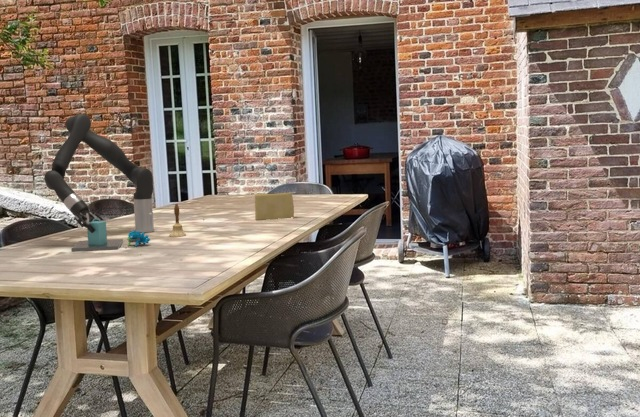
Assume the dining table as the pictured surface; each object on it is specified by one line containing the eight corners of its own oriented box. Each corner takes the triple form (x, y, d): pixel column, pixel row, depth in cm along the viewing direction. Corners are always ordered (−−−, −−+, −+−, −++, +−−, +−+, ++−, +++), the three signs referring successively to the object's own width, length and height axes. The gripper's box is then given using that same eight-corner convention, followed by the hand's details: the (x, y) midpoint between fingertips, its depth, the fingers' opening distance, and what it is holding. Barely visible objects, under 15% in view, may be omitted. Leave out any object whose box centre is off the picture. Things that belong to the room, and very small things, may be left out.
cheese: (293, 217, 411) (293, 191, 409) (294, 219, 402) (293, 193, 400) (255, 218, 410) (255, 192, 408) (255, 220, 400) (254, 194, 399)
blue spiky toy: (154, 240, 327) (142, 228, 320) (150, 251, 323) (138, 238, 317) (135, 243, 332) (123, 230, 325) (131, 253, 328) (118, 240, 321)
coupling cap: (95, 242, 328) (94, 221, 326) (107, 242, 326) (105, 221, 325) (88, 244, 322) (86, 222, 321) (99, 244, 320) (98, 223, 319)
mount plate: (123, 242, 335) (122, 223, 334) (117, 249, 316) (116, 229, 315) (79, 244, 332) (78, 225, 331) (71, 251, 313) (70, 231, 312)
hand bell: (189, 235, 352) (188, 203, 350) (175, 237, 346) (174, 205, 344) (179, 233, 358) (178, 202, 356) (166, 235, 352) (164, 204, 350)
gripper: (71, 201, 317) (94, 227, 315) (89, 197, 330) (112, 222, 329) (61, 212, 319) (85, 238, 317) (80, 208, 332) (103, 233, 331)
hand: (99, 230), depth 323 cm, fingers open, 8 cm apart
